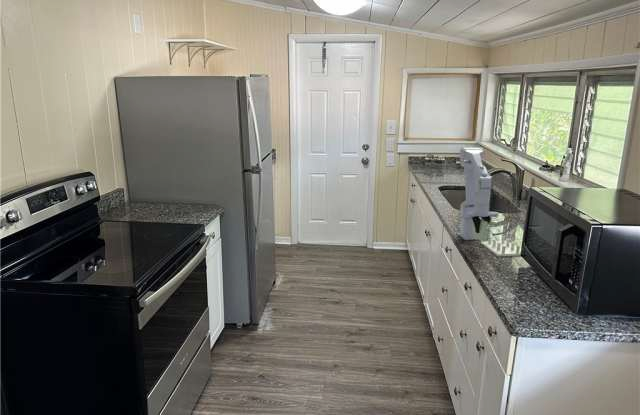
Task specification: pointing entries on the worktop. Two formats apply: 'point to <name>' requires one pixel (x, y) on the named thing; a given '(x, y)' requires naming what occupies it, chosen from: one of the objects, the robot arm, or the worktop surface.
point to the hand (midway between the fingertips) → (479, 232)
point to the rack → (502, 247)
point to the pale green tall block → (481, 231)
